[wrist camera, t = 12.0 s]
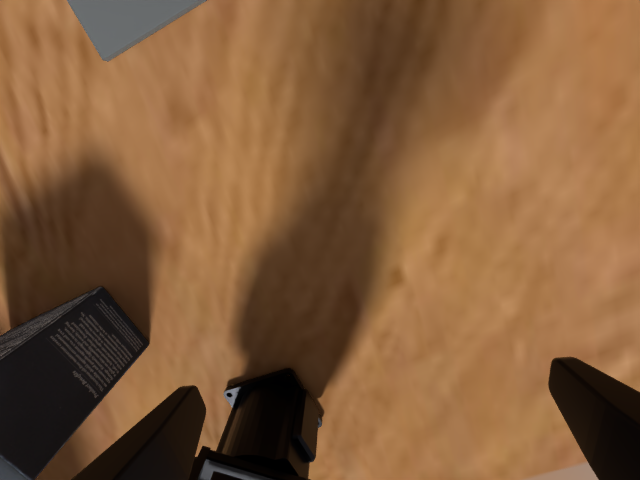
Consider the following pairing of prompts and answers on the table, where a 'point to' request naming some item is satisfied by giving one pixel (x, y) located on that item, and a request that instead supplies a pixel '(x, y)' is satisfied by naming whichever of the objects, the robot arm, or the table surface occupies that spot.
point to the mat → (126, 21)
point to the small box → (59, 377)
